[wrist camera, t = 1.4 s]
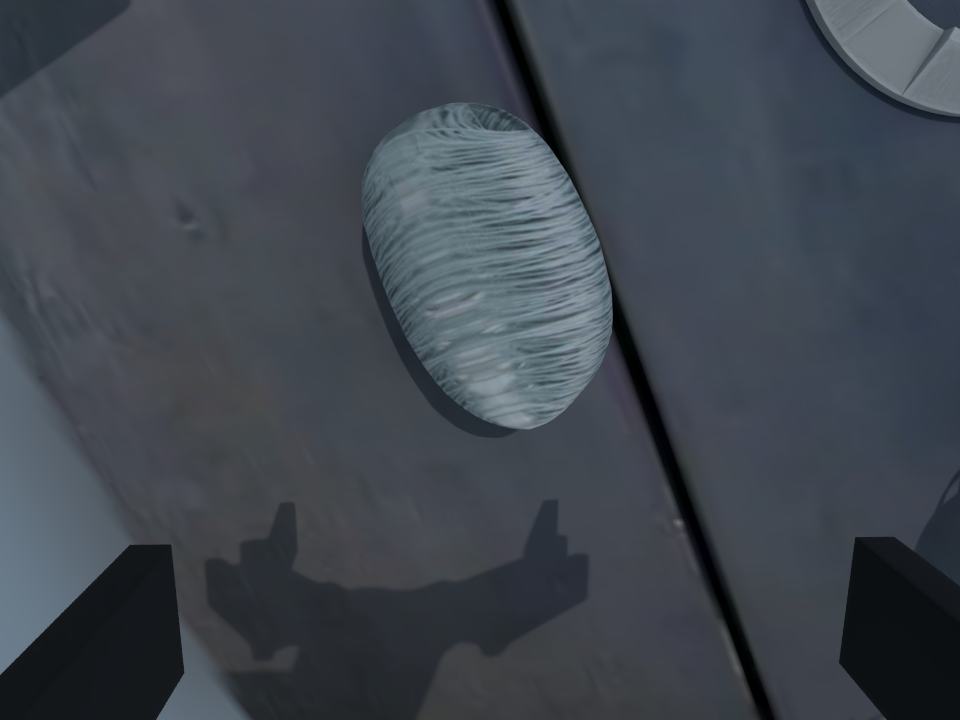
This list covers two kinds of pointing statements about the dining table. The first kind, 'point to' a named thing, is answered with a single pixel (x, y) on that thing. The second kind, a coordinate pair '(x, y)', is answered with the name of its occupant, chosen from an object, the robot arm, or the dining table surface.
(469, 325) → the grey streaked ellipsoid
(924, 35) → the ring
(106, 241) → the dining table surface
